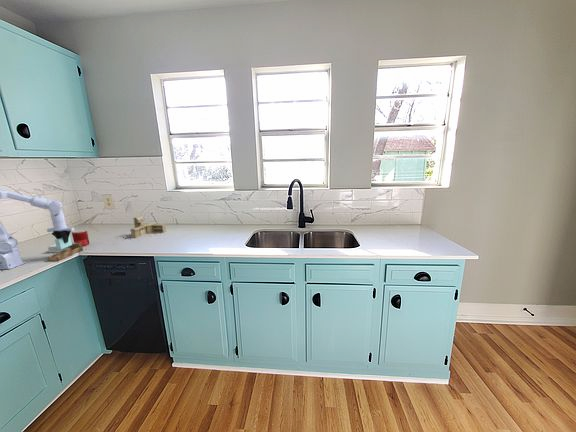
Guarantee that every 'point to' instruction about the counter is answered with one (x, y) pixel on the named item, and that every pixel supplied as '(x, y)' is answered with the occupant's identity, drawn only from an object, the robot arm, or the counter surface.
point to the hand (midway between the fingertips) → (63, 242)
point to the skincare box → (54, 249)
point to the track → (67, 252)
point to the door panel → (62, 243)
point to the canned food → (81, 237)
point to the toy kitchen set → (146, 228)
